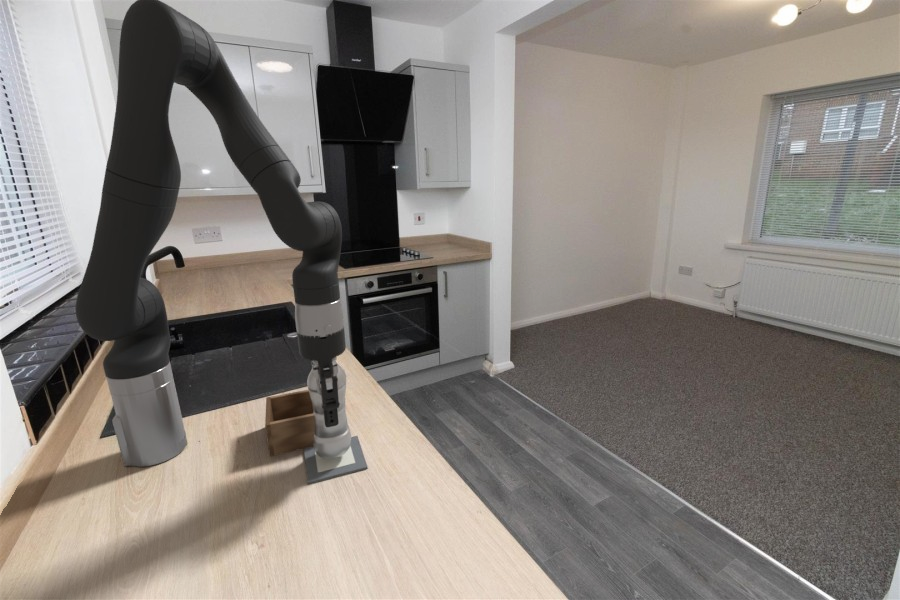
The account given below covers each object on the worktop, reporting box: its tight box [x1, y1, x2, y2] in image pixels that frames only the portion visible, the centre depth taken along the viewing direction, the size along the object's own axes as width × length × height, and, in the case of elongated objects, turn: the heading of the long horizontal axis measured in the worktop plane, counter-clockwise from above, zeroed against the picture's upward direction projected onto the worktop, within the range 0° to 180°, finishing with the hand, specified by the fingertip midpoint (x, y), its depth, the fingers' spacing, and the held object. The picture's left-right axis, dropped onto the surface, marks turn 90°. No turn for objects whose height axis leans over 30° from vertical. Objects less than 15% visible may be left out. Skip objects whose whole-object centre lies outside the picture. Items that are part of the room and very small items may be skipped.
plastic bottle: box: [306, 356, 352, 459], centre depth 72 cm, size 6×7×20 cm
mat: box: [303, 435, 369, 485], centre depth 75 cm, size 10×10×1 cm
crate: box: [264, 389, 314, 457], centre depth 82 cm, size 11×11×6 cm
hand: (329, 415), depth 72 cm, fingers closed on plastic bottle, 6 cm apart
